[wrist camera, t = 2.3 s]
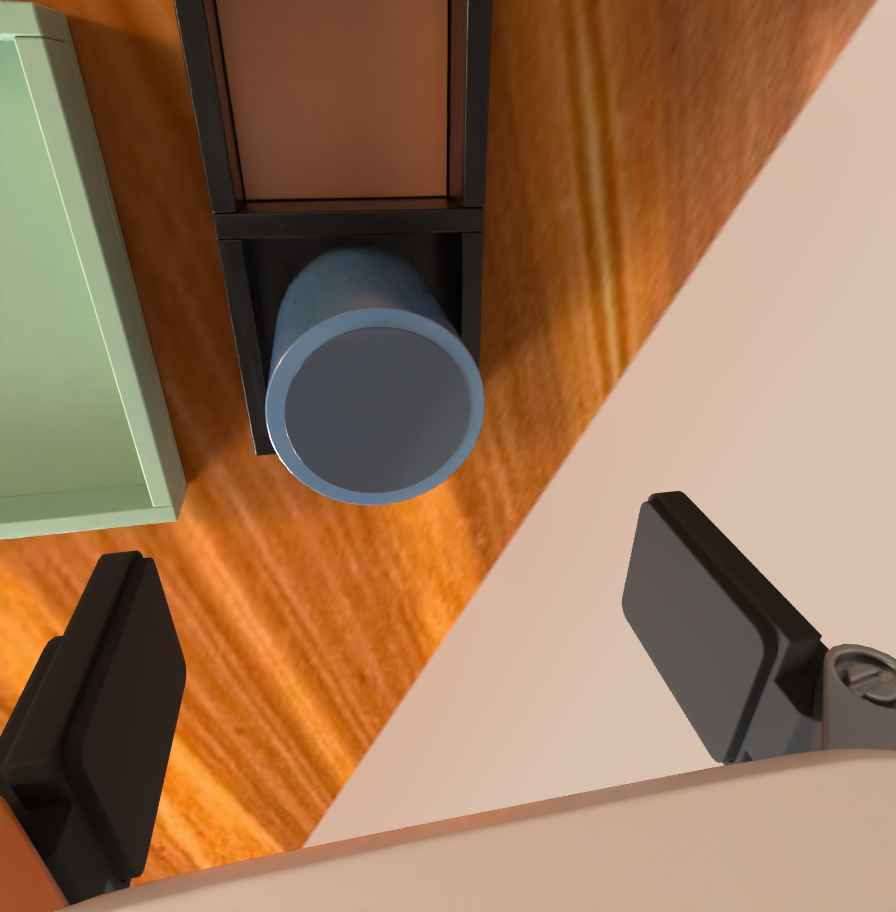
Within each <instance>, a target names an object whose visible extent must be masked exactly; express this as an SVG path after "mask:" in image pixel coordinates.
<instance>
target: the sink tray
mask: <svg viewBox="0 0 896 912" xmlns="http://www.w3.org/2000/svg"><path fill="white" fill-rule="evenodd" d="M186 490H187V484H186V480H185V476H184V472H183V468H182V464H181V460H180V456H179V452H178V449H177V445H176V441H175V437H174V433H173V429H172V425H171V421H170V417H169V414H168V410H167V406H166V402H165V398H164V394H163V390H162V386H161V382H160V379H159V375H158V371H157V367H156V363H155V359H154V355H153V351H152V347H151V344H150V340H149V336H148V332H147V328H146V324H145V320H144V316H143V312H142V309H141V305H140V301H139V297H138V293H137V289H136V285H135V281H134V277H133V274H132V270H131V266H130V262H129V258H128V254H127V250H126V246H125V242H124V239H123V235H122V231H121V227H120V223H119V219H118V215H117V211H116V207H115V204H114V200H113V196H112V192H111V188H110V184H109V180H108V176H107V172H106V169H105V165H104V161H103V157H102V153H101V149H100V145H99V141H98V137H97V134H96V130H95V126H94V122H93V118H92V114H91V110H90V106H89V102H88V99H87V95H86V91H85V87H84V83H83V79H82V75H81V71H80V67H79V64H78V60H77V56H76V52H75V48H74V44H73V40H72V36H71V32H70V29H69V25H68V21H67V17H66V14H65V13H64V12H61V11H58V10H55V9H52V8H49V7H46V6H43V5H40V4H37V3H34V2H26V1H0V540H1V539H10V538H20V537H29V536H39V535H48V534H58V533H67V532H77V531H86V530H96V529H105V528H114V527H124V526H133V525H143V524H152V523H162V522H171V521H177V520H178V517H179V514H180V510H181V507H182V504H183V501H184V497H185V493H186Z"/></svg>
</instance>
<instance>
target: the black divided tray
mask: <svg viewBox="0 0 896 912" xmlns="http://www.w3.org/2000/svg"><path fill="white" fill-rule="evenodd" d="M173 2H174V7H175V13H176V18H177V24H178V30H179V35H180V41H181V46H182V52H183V57H184V63H185V68H186V74H187V79H188V85H189V90H190V96H191V101H192V107H193V112H194V118H195V123H196V129H197V134H198V140H199V145H200V151H201V156H202V162H203V167H204V173H205V179H206V184H207V190H208V195H209V201H210V206H211V211H212V213H213V216H212V217H213V223H214V228H215V234H216V238H217V239H218V240H217V246H218V251H219V257H220V262H221V268H222V273H223V279H224V284H225V290H226V295H227V301H228V306H229V312H230V317H231V323H232V328H233V334H234V339H235V345H236V350H237V356H238V361H239V367H240V372H241V378H242V383H243V389H244V394H245V400H246V405H247V411H248V417H249V422H250V428H251V433H252V437H253V444H254V449H255V454H256V455H257V456H258V455H269V454H277V453H276V451H275V449H274V447H273V445H272V442H271V440H270V437H269V433H268V429H267V425H266V415H265V405H266V394H267V387H268V380H269V372H270V365H271V358H272V351H273V344H274V336H275V329H276V322H277V315H278V308H279V301H280V296H281V292H282V289H283V286H284V283H285V281H286V279H287V277H288V276H289V274H290V272H291V271H292V269H293V268H294V267H295V265H296V264H297V263H298V262H299V261H300V260H301V259H302V258H303V257H304V256H306V255H307V254H308V253H310V252H311V251H312V250H314V249H316V248H318V247H320V246H321V245H324V244H327V243H329V242H332V241H336V240H341V239H350V238H358V239H367V240H373V241H376V242H379V243H383V244H385V245H387V246H389V247H391V248H393V249H395V250H396V251H398V252H400V253H401V254H402V255H404V256H405V257H406V258H407V259H408V260H409V261H410V262H411V263H412V264H413V265H414V266H415V267H416V268H417V270H418V271H419V273H420V274H421V276H422V277H423V279H424V280H425V282H426V284H427V285H428V287H429V288H430V290H431V292H432V293H433V295H434V296H435V298H436V300H437V301H438V303H439V304H440V306H441V308H442V309H443V311H444V312H445V314H446V315H447V317H448V319H449V320H450V322H451V323H452V325H453V327H454V328H455V330H456V331H457V333H458V335H459V336H460V338H461V339H462V341H463V343H464V344H465V346H466V347H467V349H468V351H469V352H470V354H471V355H472V357H473V359H474V361H475V363H476V365H477V367H478V369H479V358H480V331H481V304H482V278H483V251H484V232H483V231H484V221H485V209H484V208H483V207H484V206H485V193H486V166H487V139H488V112H489V85H490V59H491V32H492V5H493V0H173Z"/></svg>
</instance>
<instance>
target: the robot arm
mask: <svg viewBox="0 0 896 912" xmlns="http://www.w3.org/2000/svg"><path fill="white" fill-rule="evenodd" d="M622 608H623V612H624V615H625V617H626V619H627V621H628V622H629V624H630V626H631V627H632V629H633V631H634V632H635V634H636V635H637V637H638V639H639V640H640V642H641V643H642V645H643V647H644V648H645V650H646V651H647V653H648V655H649V656H650V658H651V660H652V661H653V663H654V665H655V666H656V668H657V669H658V671H659V673H660V674H661V676H662V678H663V679H664V681H665V682H666V684H667V686H668V687H669V689H670V691H671V692H672V694H673V695H674V697H675V699H676V700H677V702H678V704H679V705H680V707H681V708H682V710H683V712H684V713H685V715H686V717H687V718H688V720H689V721H690V723H691V725H692V726H693V728H694V729H695V731H696V733H697V734H698V736H699V738H700V739H701V741H702V742H703V744H704V746H705V747H706V749H707V751H708V752H709V754H710V755H711V757H712V758H713V759H714V760H715V761H716V762H719V763H720V762H722V763H723V764H724V766H720V767H715V768H709V769H704V770H699V771H693V772H688V773H683V774H678V775H673V776H667V777H662V778H657V779H651V780H647V781H641V782H636V783H631V784H626V785H620V786H615V787H610V788H605V789H600V790H594V791H589V792H584V793H579V794H573V795H568V796H563V797H558V798H553V799H548V800H543V801H538V802H533V803H528V804H523V805H518V806H513V807H507V808H503V809H498V810H492V811H487V812H482V813H477V814H472V815H468V816H462V817H457V818H452V819H447V820H442V821H437V822H432V823H427V824H422V825H416V826H412V827H407V828H402V829H397V830H392V831H387V832H382V833H377V834H372V835H367V836H362V837H357V838H352V839H347V840H343V841H338V842H333V843H328V844H323V845H318V846H313V847H308V848H303V849H298V850H293V851H288V852H283V853H279V854H274V855H269V856H264V857H259V858H255V859H250V860H246V861H241V862H236V863H232V864H227V865H223V866H218V867H214V868H209V869H205V870H200V871H196V872H191V873H187V874H182V875H178V876H173V877H168V878H164V879H159V880H155V881H152V882H148V883H144V884H140V885H137V886H133V887H129V886H130V882H131V878H135V877H140V876H141V875H142V873H143V871H144V868H145V864H146V860H147V856H148V851H149V846H150V842H151V837H152V833H153V828H154V824H155V819H156V815H157V810H158V806H159V801H160V796H161V792H162V787H163V783H164V778H165V774H166V769H167V765H168V760H169V755H170V751H171V746H172V742H173V737H174V733H175V728H176V724H177V719H178V714H179V710H180V705H181V701H182V696H183V692H184V687H185V682H186V664H185V660H184V656H183V653H182V650H181V647H180V643H179V640H178V637H177V634H176V630H175V627H174V624H173V620H172V617H171V614H170V611H169V607H168V604H167V601H166V598H165V594H164V591H163V588H162V584H161V581H160V578H159V575H158V571H157V568H156V565H155V562H154V560H153V559H152V558H150V557H149V558H143V556H142V554H141V553H140V552H139V551H129V552H120V553H111V554H104V555H102V556H101V557H100V559H99V560H98V562H97V565H96V567H95V569H94V571H93V573H92V575H91V577H90V579H89V582H88V584H87V586H86V588H85V590H84V592H83V594H82V596H81V598H80V601H79V603H78V605H77V607H76V609H75V611H74V613H73V615H72V618H71V620H70V622H69V624H68V626H67V628H66V630H65V632H64V635H63V636H57V637H54V638H53V639H51V640H50V641H49V642H48V643H47V645H46V646H45V648H44V650H43V652H42V654H41V656H40V658H39V660H38V662H37V664H36V666H35V668H34V670H33V672H32V674H31V676H30V678H29V680H28V682H27V684H26V686H25V688H24V690H23V692H22V694H21V696H20V698H19V700H18V702H17V704H16V706H15V708H14V710H13V712H12V714H11V716H10V718H9V720H8V722H7V724H6V726H5V728H4V730H3V732H2V734H1V736H0V912H896V659H895V658H893V657H891V656H890V655H888V654H885V653H883V652H881V651H878V650H876V649H873V648H870V647H865V646H861V645H855V644H842V645H839V646H835V647H832V648H831V649H830V650H829V649H828V648H827V647H826V646H825V645H824V644H823V643H822V642H821V641H820V639H821V637H822V635H821V634H820V633H819V632H818V631H817V630H816V629H815V628H814V627H813V626H812V625H811V624H810V623H809V622H808V621H807V620H806V619H805V618H804V617H803V616H802V615H801V614H800V613H799V612H798V611H797V610H796V608H795V607H793V606H792V604H791V603H790V602H789V601H788V600H787V599H786V598H785V597H784V596H783V595H782V594H781V593H780V592H779V591H778V590H777V589H776V588H775V587H774V586H773V585H772V584H771V583H770V582H769V581H768V580H767V579H766V577H764V575H763V574H762V573H760V571H759V570H758V569H757V568H756V567H755V566H754V565H753V564H752V563H751V562H750V561H749V560H748V559H747V558H746V557H745V556H744V555H743V554H742V553H741V552H740V551H739V550H738V548H737V547H736V546H735V545H734V544H733V543H732V542H731V541H730V540H729V539H728V538H727V537H726V536H725V535H724V534H723V533H722V532H721V531H720V530H719V529H718V528H717V527H716V526H715V525H714V524H713V523H712V522H711V521H710V520H709V519H708V518H707V516H705V514H704V513H703V512H702V511H701V510H700V509H699V508H698V507H697V506H696V505H695V504H694V503H693V502H692V501H691V500H690V499H689V498H688V497H687V496H686V495H685V494H684V493H683V492H681V491H673V492H664V493H655V494H652V495H651V496H650V497H649V499H648V501H647V502H644V503H643V504H642V505H641V508H640V513H639V518H638V523H637V529H636V533H635V538H634V543H633V548H632V553H631V558H630V563H629V568H628V573H627V578H626V583H625V588H624V592H623V597H622Z"/></svg>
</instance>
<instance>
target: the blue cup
mask: <svg viewBox="0 0 896 912" xmlns="http://www.w3.org/2000/svg"><path fill="white" fill-rule="evenodd" d="M484 411H485V393H484V387H483V381H482V378H481V375H480V372H479V369H478V367H477V365H476V363H475V361H474V359H473V357H472V355H471V354H470V352H469V351H468V349H467V347H466V346H465V344H464V343H463V341H462V339H461V338H460V336H459V335H458V333H457V331H456V330H455V328H454V327H453V325H452V323H451V322H450V320H449V319H448V317H447V315H446V314H445V312H444V311H443V309H442V308H441V306H440V304H439V303H438V301H437V300H436V298H435V296H434V295H433V293H432V292H431V290H430V288H429V287H428V285H427V284H426V282H425V280H424V279H423V277H422V276H421V274H420V273H419V271H418V270H417V268H416V267H415V266H414V265H413V264H412V263H411V262H410V261H409V260H408V259H407V258H406V257H405V256H404V255H402V254H401V253H400V252H398V251H396V250H395V249H393V248H391V247H389V246H387V245H385V244H383V243H379V242H376V241H373V240H367V239H358V238H350V239H341V240H336V241H332V242H329V243H327V244H324V245H321V246H320V247H318V248H316V249H314V250H312V251H311V252H310V253H308V254H307V255H306V256H304V257H303V258H302V259H301V260H300V261H299V262H298V263H297V264H296V265H295V267H294V268H293V269H292V271H291V272H290V274H289V276H288V277H287V279H286V281H285V283H284V286H283V289H282V292H281V296H280V301H279V308H278V315H277V322H276V329H275V336H274V344H273V351H272V358H271V365H270V372H269V380H268V387H267V394H266V405H265V415H266V425H267V429H268V433H269V437H270V440H271V442H272V445H273V447H274V449H275V451H276V453H277V454H278V456H279V458H280V460H281V461H282V462H283V464H284V465H285V466H286V467H287V469H288V470H289V471H290V472H291V473H292V474H293V475H294V476H295V477H296V478H297V479H298V480H300V481H301V482H302V483H304V484H305V485H306V486H308V487H309V488H311V489H313V490H314V491H316V492H318V493H320V494H322V495H324V496H327V497H329V498H332V499H335V500H338V501H342V502H346V503H352V504H358V505H385V504H391V503H397V502H401V501H404V500H408V499H411V498H414V497H416V496H419V495H421V494H423V493H425V492H427V491H429V490H431V489H433V488H435V487H436V486H438V485H439V484H441V483H442V482H444V481H445V480H446V479H447V478H448V477H450V476H451V475H452V474H453V473H454V472H455V471H456V470H457V469H458V468H459V467H460V466H461V465H462V463H463V462H464V461H465V459H466V458H467V457H468V455H469V454H470V452H471V450H472V449H473V447H474V445H475V443H476V441H477V438H478V436H479V434H480V431H481V427H482V423H483V419H484Z"/></svg>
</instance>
